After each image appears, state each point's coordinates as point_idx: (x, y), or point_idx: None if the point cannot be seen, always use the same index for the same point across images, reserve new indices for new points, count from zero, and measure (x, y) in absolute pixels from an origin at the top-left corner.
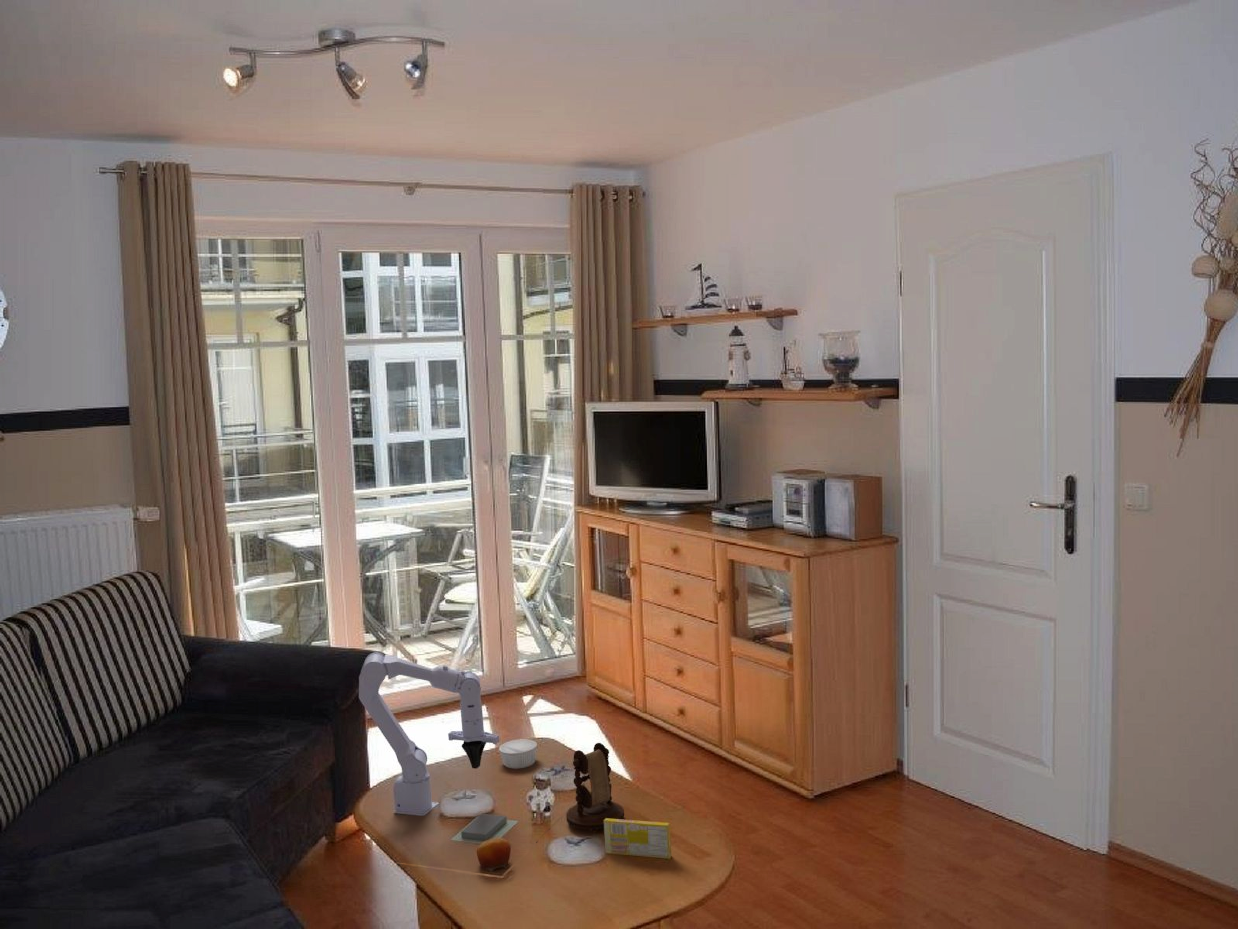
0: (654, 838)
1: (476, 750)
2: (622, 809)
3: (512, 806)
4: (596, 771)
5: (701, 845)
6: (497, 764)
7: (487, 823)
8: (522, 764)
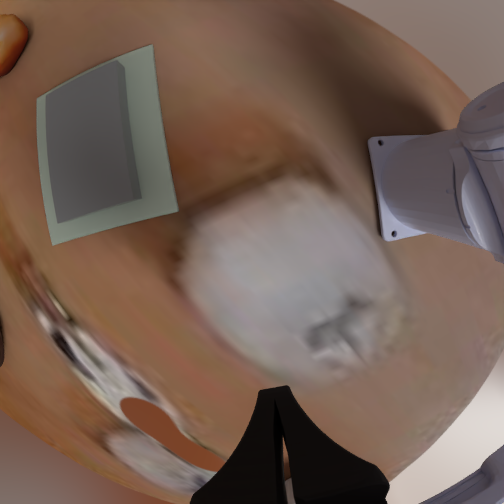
0: None
1: (214, 483)
2: None
3: (142, 331)
4: None
5: None
6: None
7: (72, 147)
8: (288, 484)
